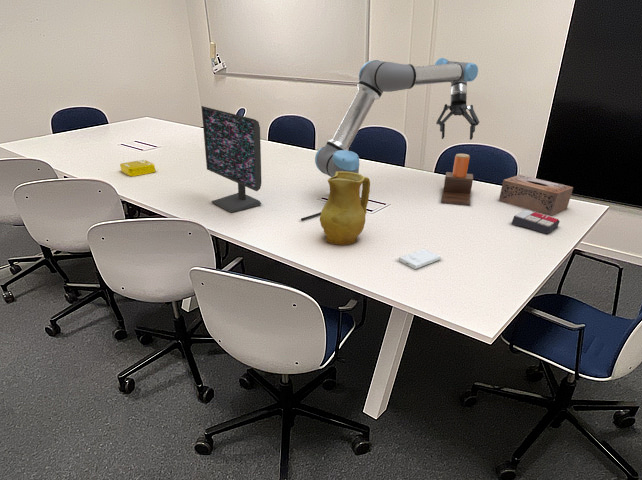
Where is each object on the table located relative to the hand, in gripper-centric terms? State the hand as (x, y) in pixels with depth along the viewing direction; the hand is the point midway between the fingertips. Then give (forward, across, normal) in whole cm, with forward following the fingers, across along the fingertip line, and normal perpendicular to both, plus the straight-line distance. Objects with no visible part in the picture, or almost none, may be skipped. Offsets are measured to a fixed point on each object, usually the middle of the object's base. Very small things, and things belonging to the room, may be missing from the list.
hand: (457, 138), depth 217 cm
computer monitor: (+41, +103, +14) cm, 112 cm away
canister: (+17, -2, -3) cm, 18 cm away
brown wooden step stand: (+28, -1, -2) cm, 29 cm away
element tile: (+14, +171, -26) cm, 174 cm away
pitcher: (+61, +52, +43) cm, 91 cm away
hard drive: (+71, +25, +57) cm, 94 cm away
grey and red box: (+49, -27, +27) cm, 62 cm away
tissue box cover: (+33, -34, +5) cm, 48 cm away
